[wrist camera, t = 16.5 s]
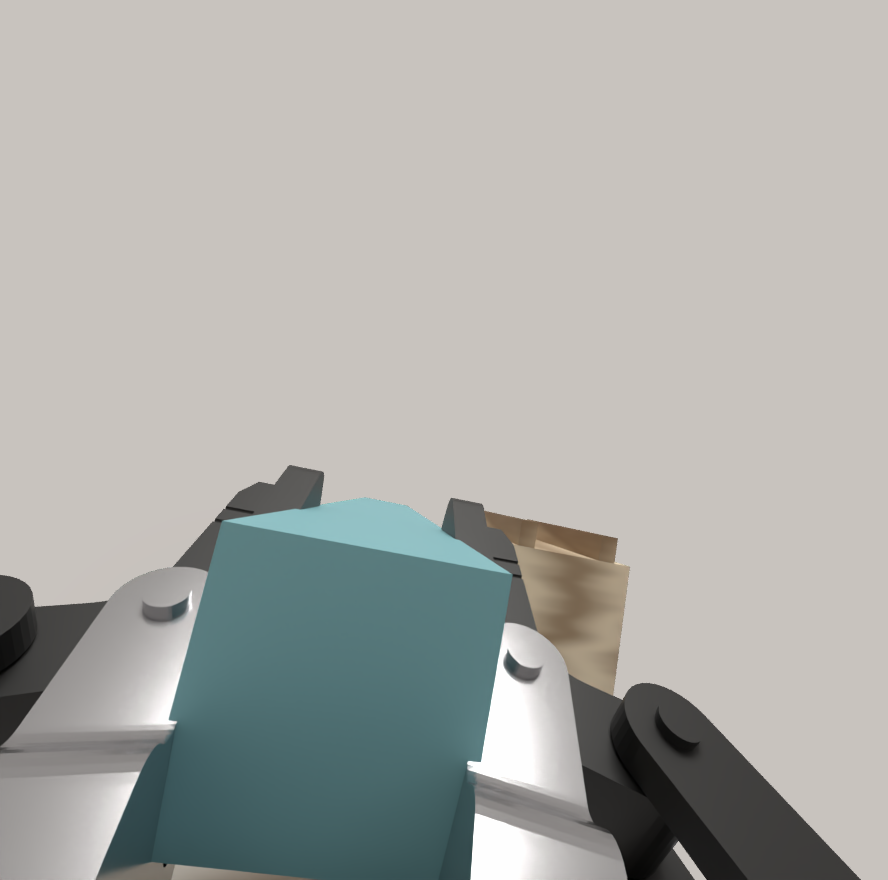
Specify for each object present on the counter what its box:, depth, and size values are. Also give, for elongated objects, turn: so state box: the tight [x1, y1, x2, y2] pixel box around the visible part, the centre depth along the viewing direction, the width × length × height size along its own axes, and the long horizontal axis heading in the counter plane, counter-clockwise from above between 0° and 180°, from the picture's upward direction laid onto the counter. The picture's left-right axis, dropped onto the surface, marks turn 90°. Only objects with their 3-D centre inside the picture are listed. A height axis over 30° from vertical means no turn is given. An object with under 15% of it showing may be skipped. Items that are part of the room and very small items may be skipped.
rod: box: [151, 498, 513, 880], centre depth 17 cm, size 3×26×3 cm, turn 7°
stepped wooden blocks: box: [171, 511, 630, 880], centre depth 24 cm, size 19×25×32 cm
